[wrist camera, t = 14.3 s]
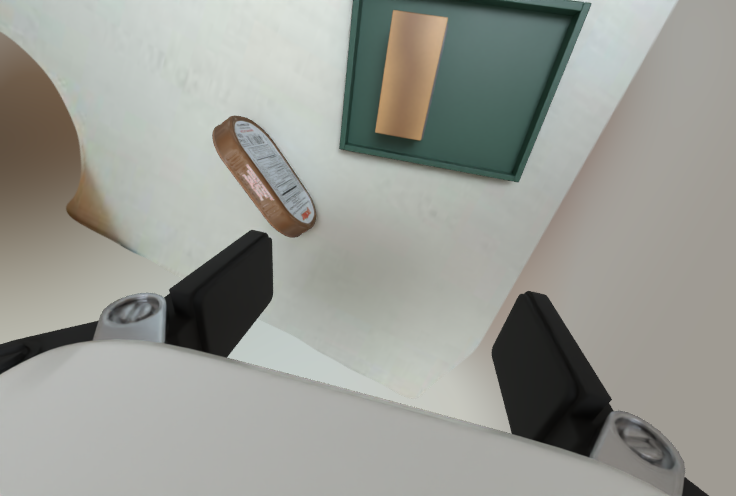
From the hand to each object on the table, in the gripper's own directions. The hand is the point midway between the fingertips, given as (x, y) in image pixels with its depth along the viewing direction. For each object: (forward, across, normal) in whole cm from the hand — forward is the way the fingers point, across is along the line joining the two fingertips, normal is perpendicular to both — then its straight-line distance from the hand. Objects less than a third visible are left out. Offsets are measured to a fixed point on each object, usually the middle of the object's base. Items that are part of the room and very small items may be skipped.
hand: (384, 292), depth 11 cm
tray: (+26, -2, -8) cm, 28 cm away
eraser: (+26, +2, -8) cm, 27 cm away
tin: (+26, +16, +4) cm, 31 cm away
